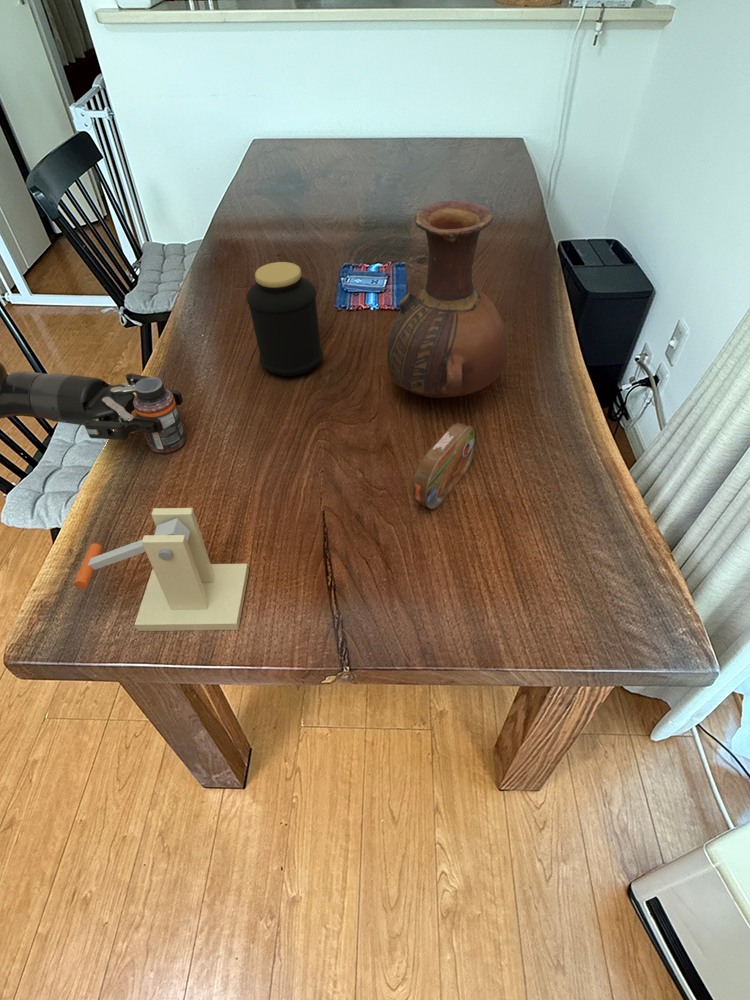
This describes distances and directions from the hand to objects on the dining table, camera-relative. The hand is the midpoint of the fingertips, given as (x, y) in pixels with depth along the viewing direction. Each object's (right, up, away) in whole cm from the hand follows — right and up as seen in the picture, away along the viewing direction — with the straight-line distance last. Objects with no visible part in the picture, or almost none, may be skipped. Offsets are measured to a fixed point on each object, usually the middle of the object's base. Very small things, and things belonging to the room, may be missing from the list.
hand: (170, 411), depth 91 cm
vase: (+43, +6, +15) cm, 46 cm away
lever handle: (+4, -20, -23) cm, 30 cm away
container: (+15, +12, +21) cm, 29 cm away
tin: (+41, -11, -2) cm, 43 cm away
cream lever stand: (+9, -26, -16) cm, 32 cm away
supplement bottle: (-2, -4, +5) cm, 7 cm away
